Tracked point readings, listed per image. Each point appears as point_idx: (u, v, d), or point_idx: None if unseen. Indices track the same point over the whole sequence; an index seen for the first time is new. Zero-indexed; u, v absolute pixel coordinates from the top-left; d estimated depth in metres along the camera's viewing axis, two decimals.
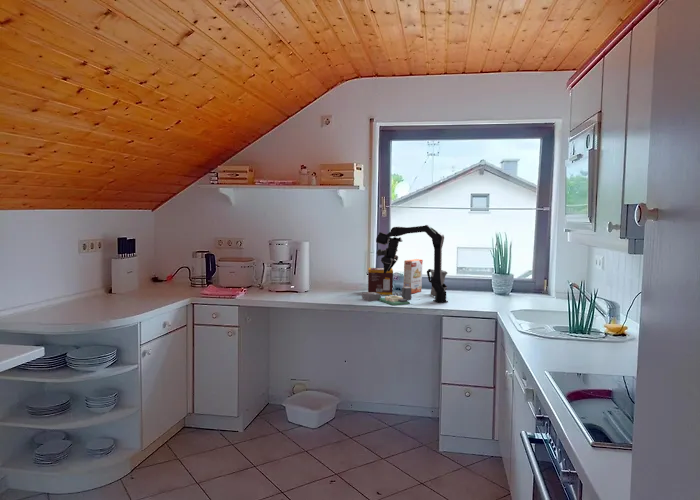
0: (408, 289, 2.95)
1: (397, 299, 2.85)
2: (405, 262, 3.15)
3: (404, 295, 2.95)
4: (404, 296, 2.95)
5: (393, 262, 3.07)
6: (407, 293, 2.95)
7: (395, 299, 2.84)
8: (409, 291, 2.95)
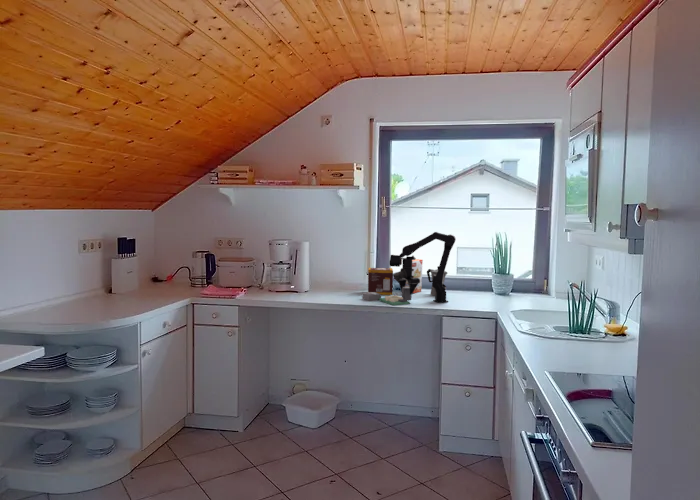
0: (408, 289, 2.95)
1: (397, 299, 2.85)
2: None
3: (404, 295, 2.95)
4: (404, 296, 2.95)
5: (404, 281, 3.01)
6: (407, 293, 2.95)
7: (395, 299, 2.84)
8: (409, 291, 2.95)
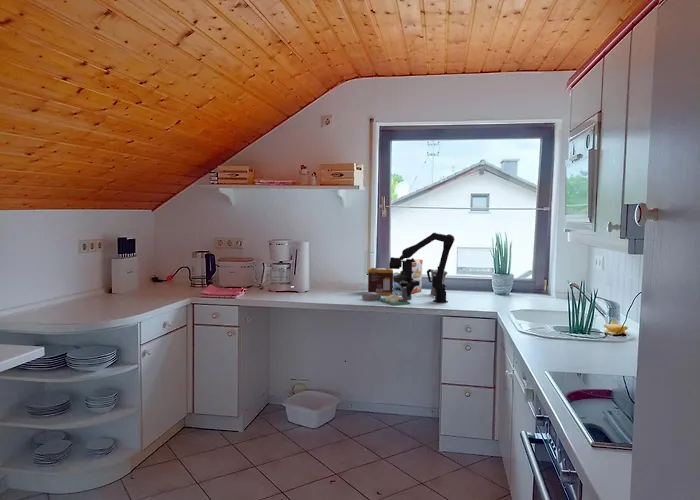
0: None
1: (397, 299, 2.85)
2: None
3: (404, 295, 2.95)
4: (404, 296, 2.95)
5: (406, 285, 2.99)
6: None
7: (395, 299, 2.84)
8: None
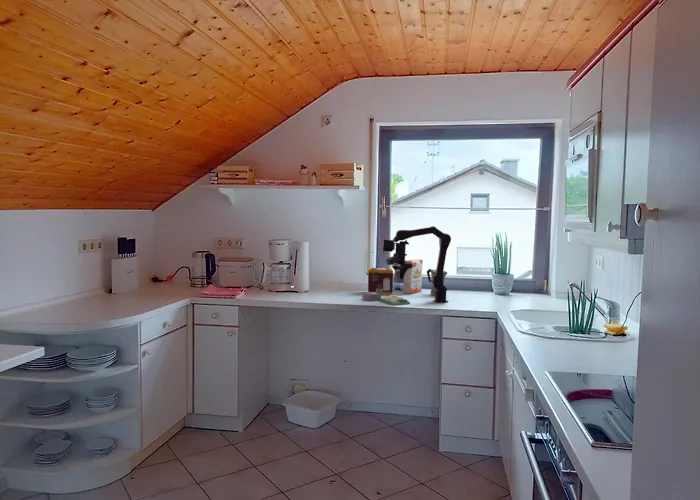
0: None
1: (397, 299, 2.85)
2: None
3: (397, 278, 2.89)
4: (397, 279, 2.89)
5: (399, 267, 2.94)
6: None
7: (395, 299, 2.84)
8: None
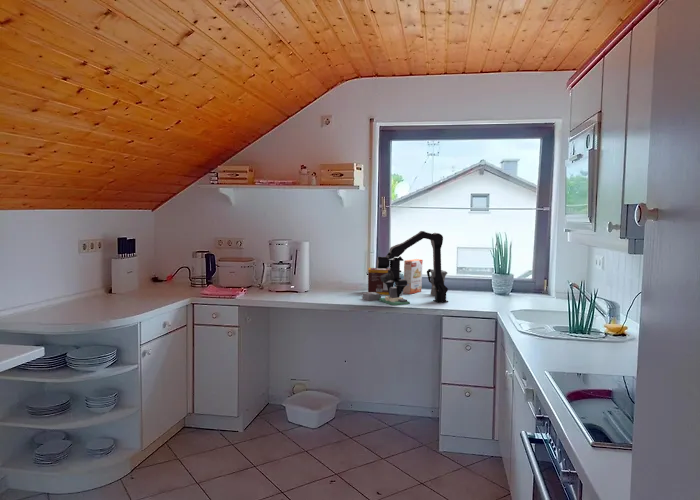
0: (396, 289, 2.86)
1: (397, 299, 2.85)
2: (405, 262, 3.15)
3: (392, 295, 2.86)
4: (392, 296, 2.86)
5: (392, 283, 2.93)
6: (395, 293, 2.86)
7: (395, 299, 2.84)
8: None
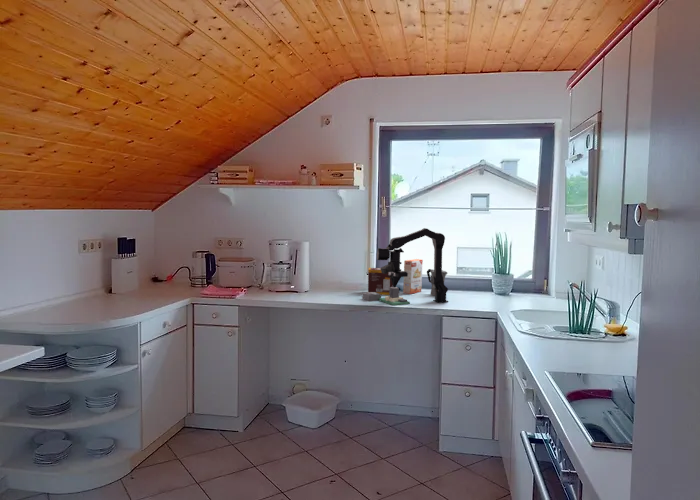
0: (396, 289, 2.86)
1: (397, 299, 2.85)
2: (405, 262, 3.15)
3: (392, 295, 2.86)
4: (392, 296, 2.86)
5: None
6: (395, 293, 2.86)
7: (395, 299, 2.84)
8: (397, 291, 2.86)
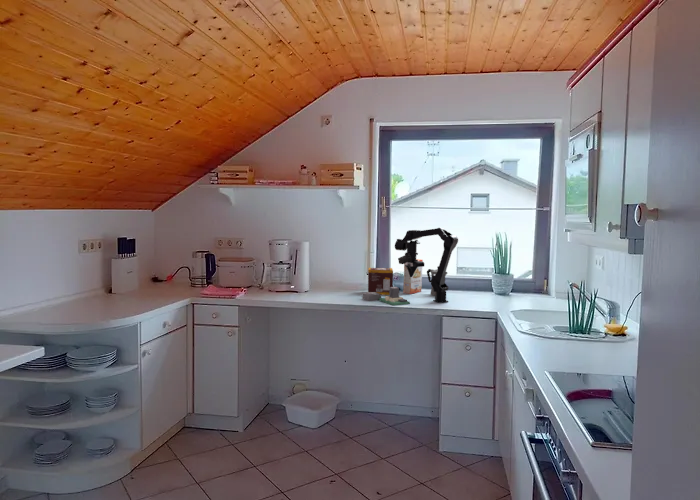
0: (396, 289, 2.86)
1: (397, 299, 2.85)
2: None
3: (392, 295, 2.86)
4: (392, 296, 2.86)
5: None
6: (395, 293, 2.86)
7: (395, 299, 2.84)
8: (397, 291, 2.86)
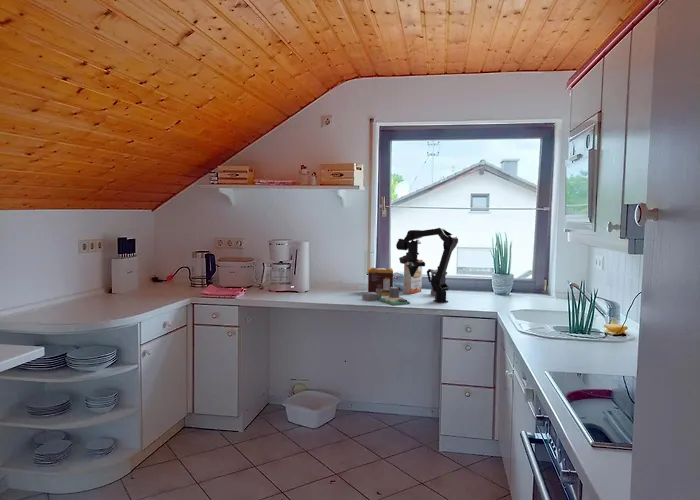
0: (396, 289, 2.86)
1: (397, 299, 2.85)
2: None
3: (392, 295, 2.86)
4: (392, 296, 2.86)
5: None
6: (395, 293, 2.86)
7: (395, 299, 2.84)
8: (397, 291, 2.86)
